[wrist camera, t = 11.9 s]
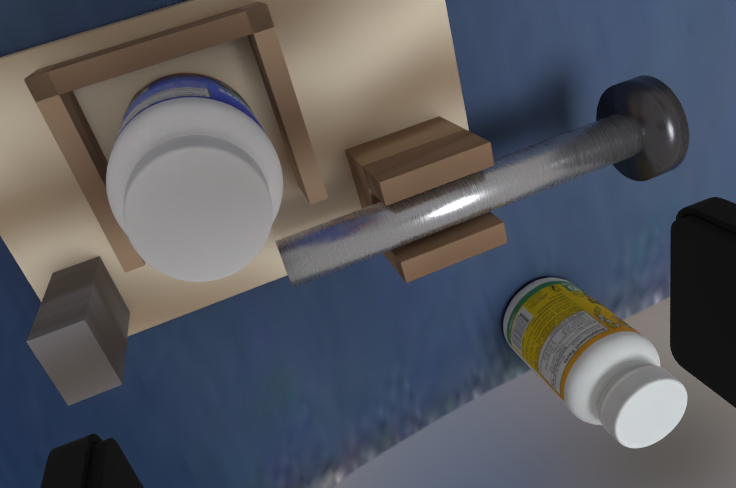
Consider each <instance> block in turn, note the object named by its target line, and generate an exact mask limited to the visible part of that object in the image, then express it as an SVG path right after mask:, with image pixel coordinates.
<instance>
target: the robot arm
mask: <svg viewBox="0 0 736 488" xmlns="http://www.w3.org/2000/svg"><path fill="white" fill-rule="evenodd" d="M670 300H671V301H670V306H671V307H670V347H671V351H672V355H673V356H674V358H675V360H676V361H677V362H678V364H679V365H680V366H682V367H683V368H684V369H685V370H687V371H688V372H689V373H691V374H692V375H693V376H694V377H696V378H697V379H698V380H700V381H701V382H702V383H704V384H705V385H706V386H708V387H709V388H710V389H712V390H713V391H714V392H716V393H717V394H718V395H720V396H721V397H722V398H723V399H725V400H726V401H727V402H729V403H730V404H732V405H733V406H734V407H735V408H736V204H735V203H732V202H730V201H727V200H725V199H722V198H718V197H713V198H708V199H706V200H703V201H701V202H698V203H695V204H693V205H690V206H688V207H685V208H683V209H681V210H680V211H679V212H678V214H677V216H676V221H674V222H673V224H672V226H671V282H670ZM41 488H144V487H143V486H142V484H141V482H140V481H139V479H138V477H137V476H136V474H135V472H134V470H133V469H132V467H131V465H130V464H129V462H128V460H127V459H126V457H125V455H124V453H123V452H122V450H121V448H120V447H119V445H118V443H117V442H116V441H115V440H114V439H113V438H109V439H107V440H104V441H102V440H101V438H100V437H99V436H97V435H96V434H91V435H88V436H86V437H83V438H80V439H78V440H75V441H73V442H70V443H67V444H65V445H62V446H59V447H57V448H54V449H53V450H52V451H50V454H49V456H48V460H47V464H46V468H45V472H44V476H43V480H42V484H41Z"/></svg>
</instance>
